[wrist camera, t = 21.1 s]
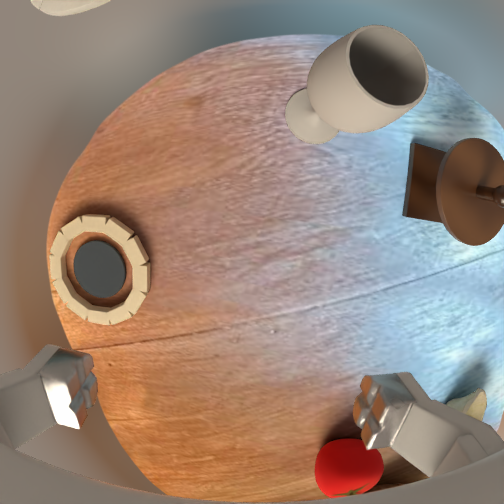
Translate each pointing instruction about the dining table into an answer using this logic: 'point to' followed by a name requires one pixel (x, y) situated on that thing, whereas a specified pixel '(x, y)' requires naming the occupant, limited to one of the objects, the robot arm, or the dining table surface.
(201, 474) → the dining table surface
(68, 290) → the hoop
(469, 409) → the bowl
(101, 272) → the coaster
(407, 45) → the wineglass
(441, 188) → the rack
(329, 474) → the tomato
